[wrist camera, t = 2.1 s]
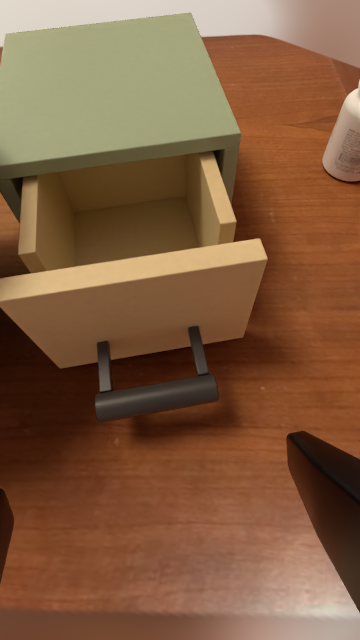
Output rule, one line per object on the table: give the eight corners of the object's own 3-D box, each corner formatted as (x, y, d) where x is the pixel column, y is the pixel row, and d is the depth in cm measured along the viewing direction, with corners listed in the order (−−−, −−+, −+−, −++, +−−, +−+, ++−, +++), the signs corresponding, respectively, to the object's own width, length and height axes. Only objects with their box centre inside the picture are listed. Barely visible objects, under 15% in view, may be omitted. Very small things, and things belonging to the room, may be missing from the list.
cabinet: (224, 255, 26) (241, 132, 17) (55, 282, 25) (-16, 167, 16) (190, 142, 32) (191, 12, 23) (55, 160, 31) (4, 33, 23)
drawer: (262, 404, 19) (302, 349, 12) (59, 440, 19) (-17, 404, 12) (202, 197, 27) (207, 94, 20) (58, 218, 27) (12, 119, 20)
